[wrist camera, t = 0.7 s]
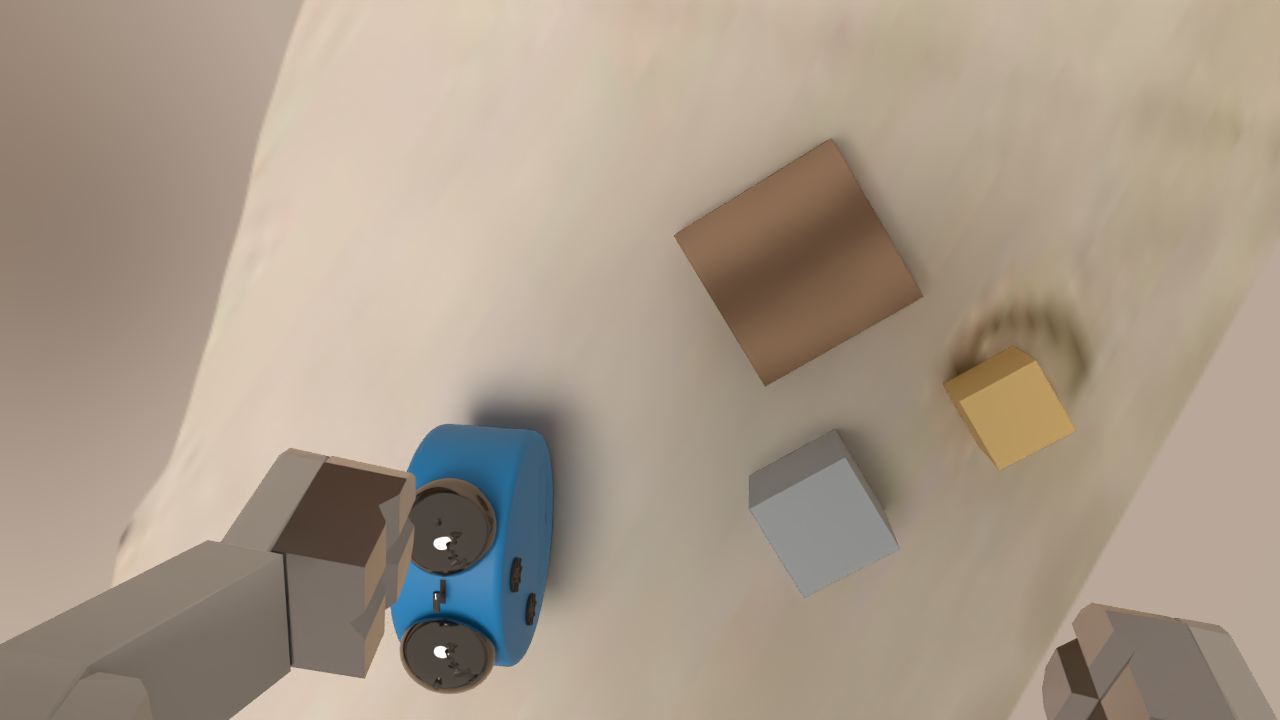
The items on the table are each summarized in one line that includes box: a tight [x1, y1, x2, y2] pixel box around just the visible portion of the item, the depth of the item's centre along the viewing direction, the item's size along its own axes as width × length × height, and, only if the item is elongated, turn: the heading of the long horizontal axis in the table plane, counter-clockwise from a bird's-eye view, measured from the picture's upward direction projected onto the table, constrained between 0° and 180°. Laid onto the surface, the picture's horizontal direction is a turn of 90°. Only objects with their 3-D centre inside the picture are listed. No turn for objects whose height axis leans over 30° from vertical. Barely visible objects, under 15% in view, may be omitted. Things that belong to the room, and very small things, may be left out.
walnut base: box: [674, 138, 923, 386], centre depth 53 cm, size 10×10×3 cm
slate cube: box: [749, 429, 900, 598], centre depth 54 cm, size 6×6×6 cm
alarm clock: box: [391, 424, 553, 694], centre depth 52 cm, size 13×6×15 cm, turn 179°
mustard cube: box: [943, 346, 1076, 470], centre depth 52 cm, size 4×4×4 cm
